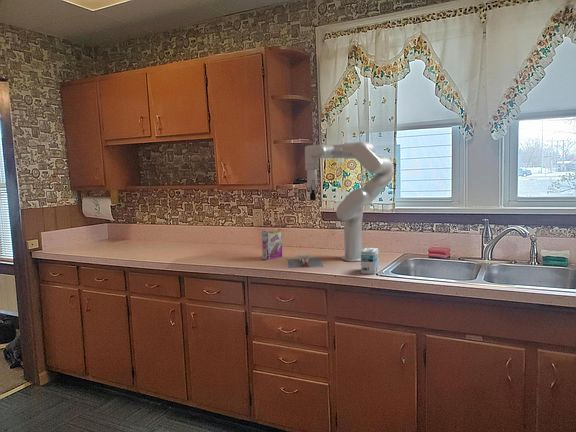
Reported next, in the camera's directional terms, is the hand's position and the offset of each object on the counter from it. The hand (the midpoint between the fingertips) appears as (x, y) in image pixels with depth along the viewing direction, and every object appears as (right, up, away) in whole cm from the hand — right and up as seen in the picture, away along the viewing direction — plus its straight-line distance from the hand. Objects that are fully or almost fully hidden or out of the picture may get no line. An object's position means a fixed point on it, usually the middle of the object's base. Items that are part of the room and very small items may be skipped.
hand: (312, 200), depth 257 cm
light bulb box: (+25, -36, -40) cm, 59 cm away
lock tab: (-6, -33, -12) cm, 36 cm away
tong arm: (-6, -34, -21) cm, 40 cm away
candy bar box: (-23, -33, -1) cm, 40 cm away
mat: (-5, -34, -17) cm, 39 cm away
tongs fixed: (-5, -34, -19) cm, 39 cm away
